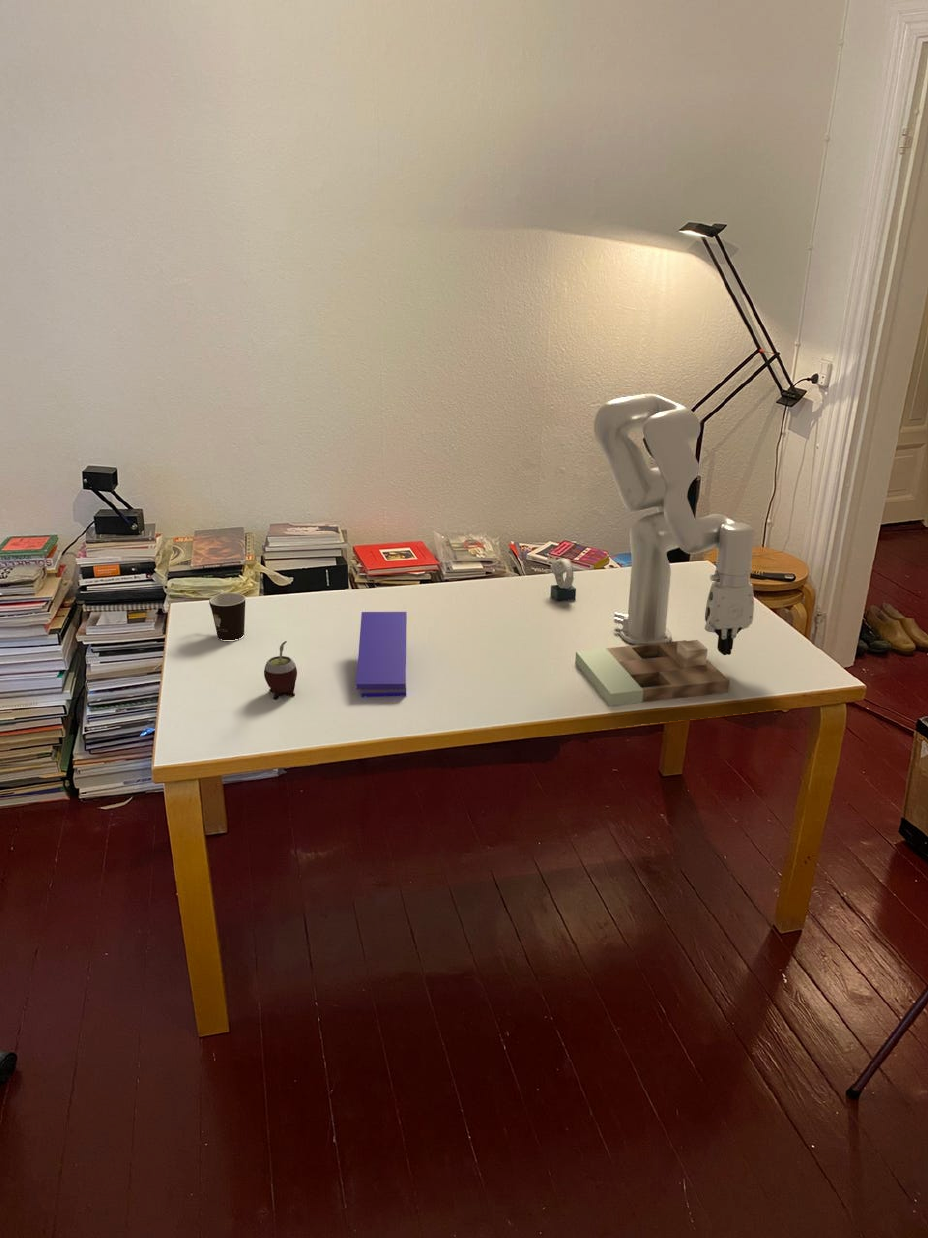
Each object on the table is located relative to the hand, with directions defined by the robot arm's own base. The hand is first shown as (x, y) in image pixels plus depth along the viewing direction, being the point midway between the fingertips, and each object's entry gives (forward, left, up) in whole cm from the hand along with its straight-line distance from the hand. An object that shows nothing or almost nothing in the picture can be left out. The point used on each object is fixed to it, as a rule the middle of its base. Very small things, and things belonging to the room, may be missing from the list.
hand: (724, 652), depth 231 cm
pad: (-18, -22, -4) cm, 29 cm away
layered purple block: (-63, -47, -5) cm, 79 cm away
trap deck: (-9, -11, -4) cm, 15 cm away
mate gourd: (-73, -70, -5) cm, 101 cm away
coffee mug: (-107, -55, -5) cm, 120 cm away
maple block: (-5, -6, -1) cm, 8 cm away
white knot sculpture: (-53, +16, -5) cm, 55 cm away
